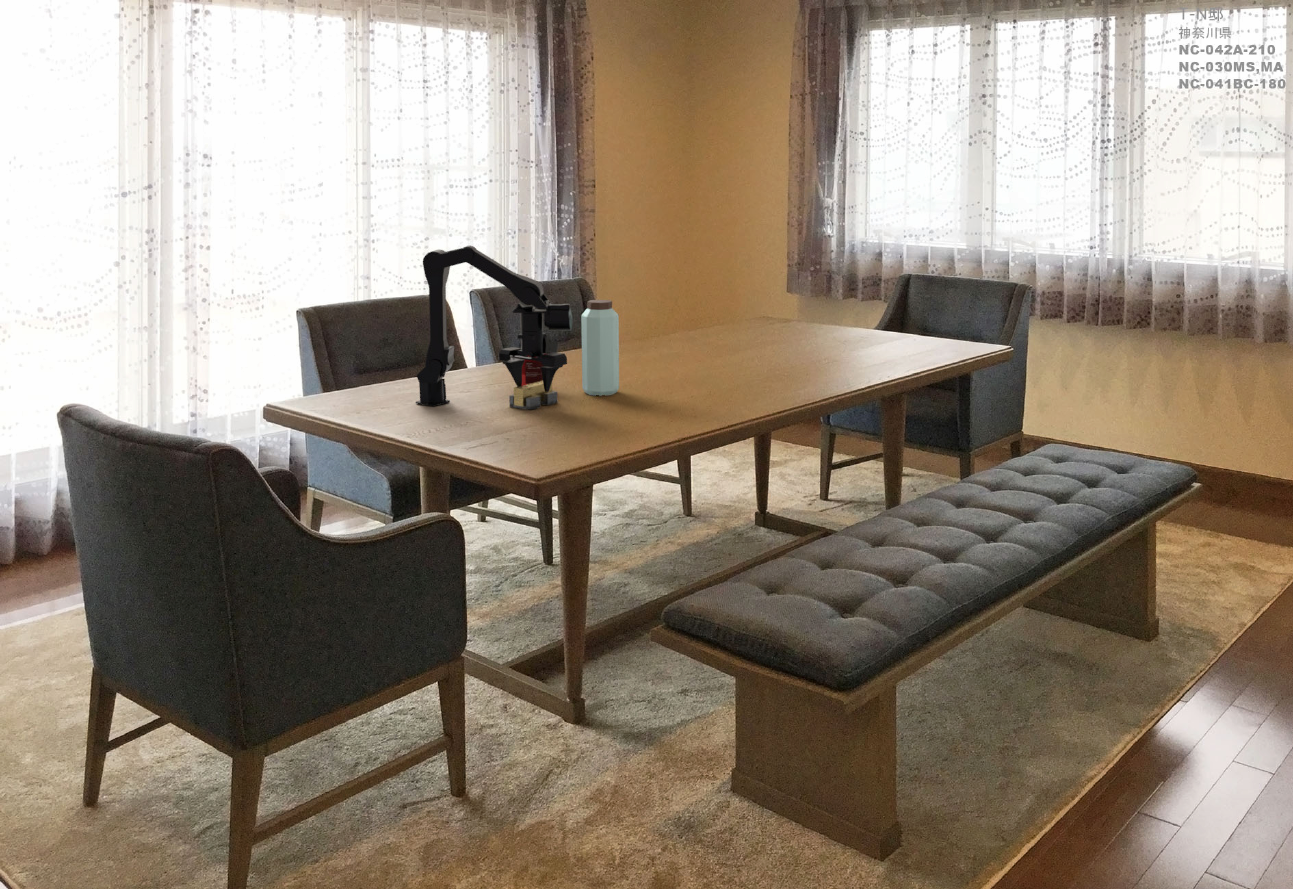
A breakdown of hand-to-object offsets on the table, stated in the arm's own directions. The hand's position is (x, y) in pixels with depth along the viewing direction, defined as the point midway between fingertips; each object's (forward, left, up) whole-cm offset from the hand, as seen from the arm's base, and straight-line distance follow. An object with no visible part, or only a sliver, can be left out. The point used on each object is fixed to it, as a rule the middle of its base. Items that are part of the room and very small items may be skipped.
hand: (533, 389), depth 323 cm
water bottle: (+23, -5, -4) cm, 23 cm away
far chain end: (+4, 0, -4) cm, 5 cm away
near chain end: (-3, 0, -4) cm, 5 cm away
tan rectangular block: (0, 0, -3) cm, 3 cm away
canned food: (+16, +13, -4) cm, 21 cm away
